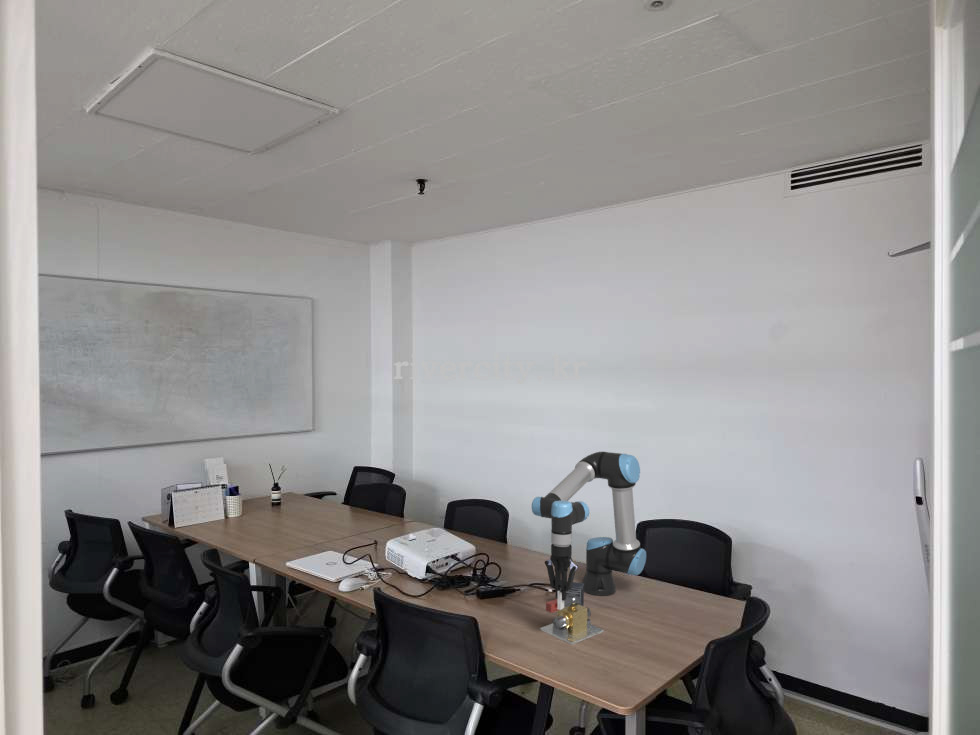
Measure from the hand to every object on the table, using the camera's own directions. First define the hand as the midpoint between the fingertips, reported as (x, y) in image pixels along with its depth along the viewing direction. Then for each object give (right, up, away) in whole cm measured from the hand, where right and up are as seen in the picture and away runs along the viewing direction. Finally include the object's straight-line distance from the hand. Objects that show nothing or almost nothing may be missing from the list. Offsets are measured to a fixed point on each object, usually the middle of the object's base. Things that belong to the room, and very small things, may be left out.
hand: (560, 608), depth 230 cm
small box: (+7, -12, +30) cm, 33 cm away
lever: (+1, -1, +4) cm, 5 cm away
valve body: (+5, -12, +8) cm, 15 cm away
